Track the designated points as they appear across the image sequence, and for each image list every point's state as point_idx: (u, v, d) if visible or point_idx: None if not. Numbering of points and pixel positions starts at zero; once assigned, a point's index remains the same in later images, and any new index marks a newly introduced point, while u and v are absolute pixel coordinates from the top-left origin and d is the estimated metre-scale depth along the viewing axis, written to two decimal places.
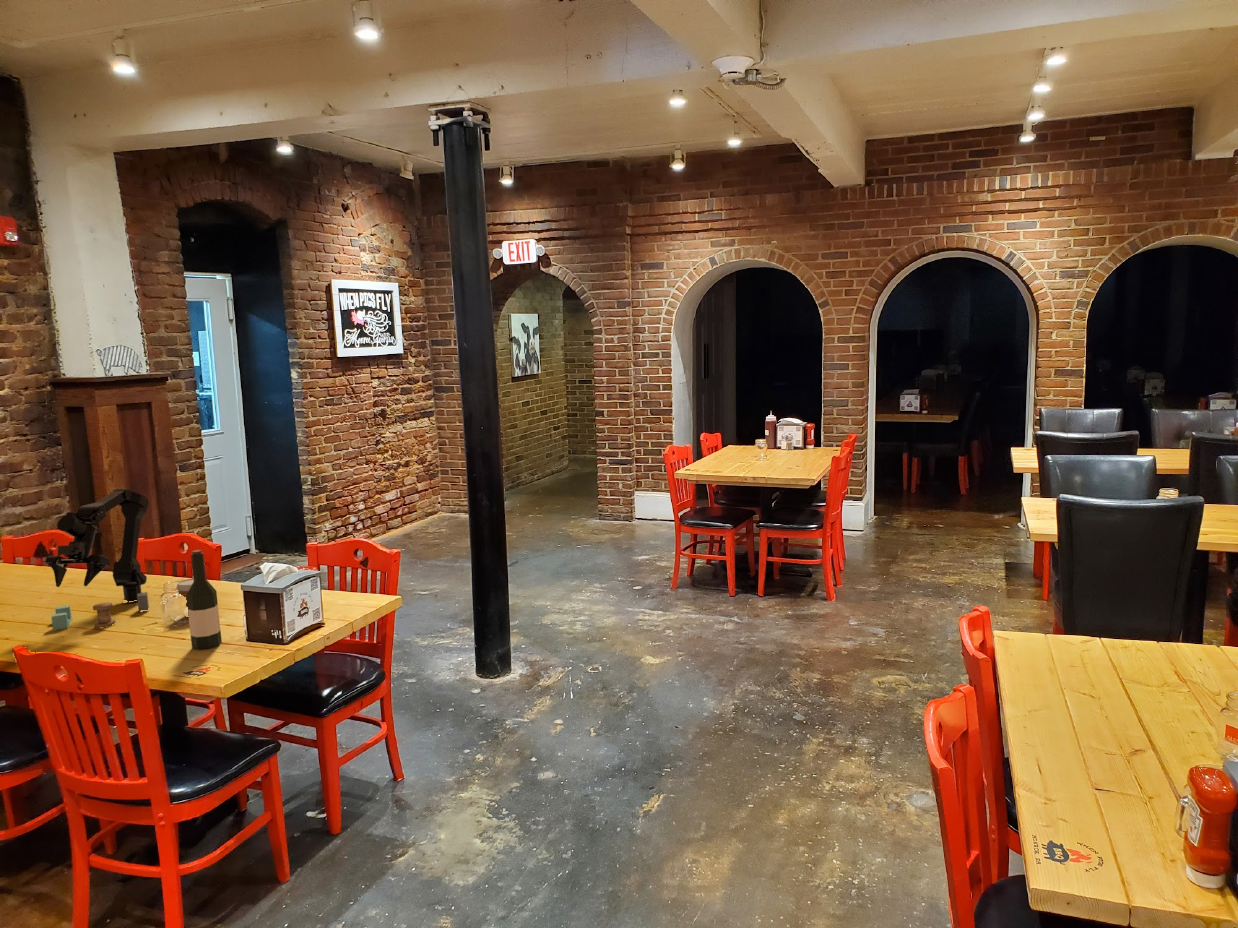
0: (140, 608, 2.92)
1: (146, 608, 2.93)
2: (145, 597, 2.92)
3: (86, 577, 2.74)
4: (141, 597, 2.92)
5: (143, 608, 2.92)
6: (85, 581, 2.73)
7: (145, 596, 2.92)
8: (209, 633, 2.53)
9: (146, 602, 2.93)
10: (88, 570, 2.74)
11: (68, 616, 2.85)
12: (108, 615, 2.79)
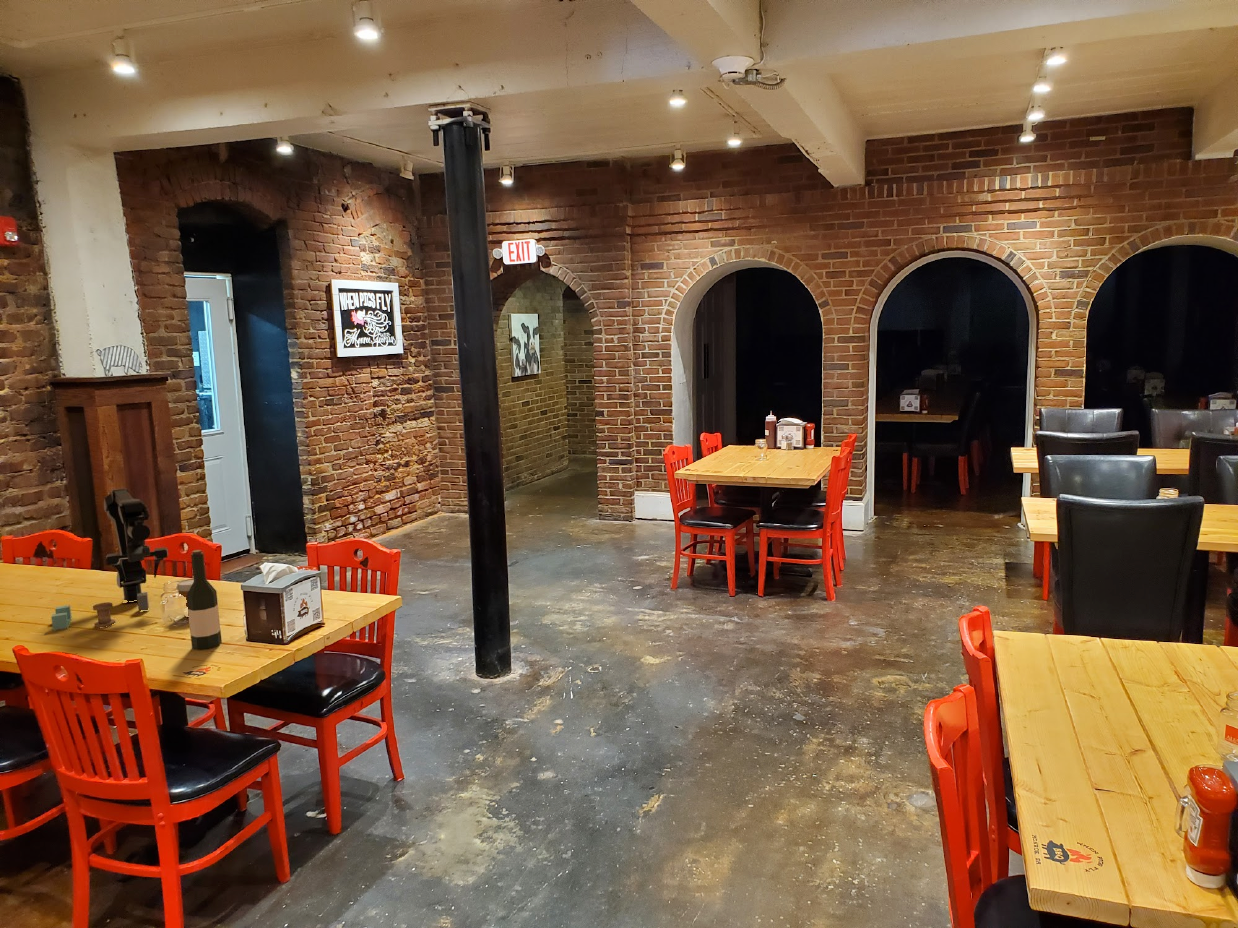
0: (140, 608, 2.92)
1: (146, 608, 2.93)
2: (145, 597, 2.92)
3: (155, 571, 2.94)
4: (141, 597, 2.92)
5: (143, 608, 2.92)
6: (155, 574, 2.94)
7: (145, 596, 2.92)
8: (209, 633, 2.53)
9: (146, 602, 2.93)
10: (156, 564, 2.93)
11: (68, 616, 2.85)
12: (108, 615, 2.79)
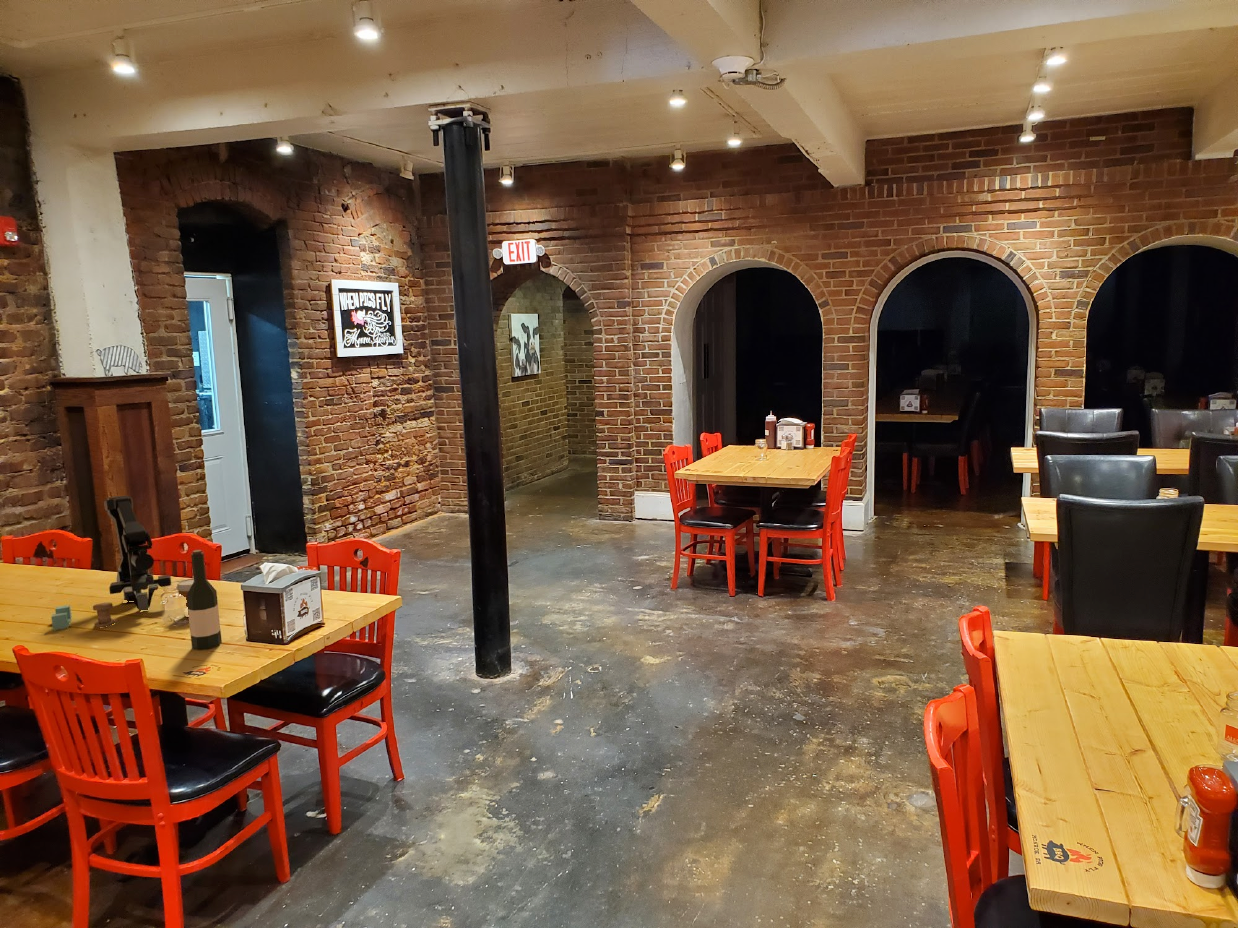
0: (140, 608, 2.92)
1: (146, 608, 2.93)
2: (145, 597, 2.92)
3: (149, 600, 2.94)
4: (141, 597, 2.92)
5: (143, 608, 2.92)
6: (149, 603, 2.94)
7: (145, 596, 2.92)
8: (209, 633, 2.53)
9: (146, 602, 2.93)
10: (150, 594, 2.93)
11: (68, 616, 2.85)
12: (108, 615, 2.79)
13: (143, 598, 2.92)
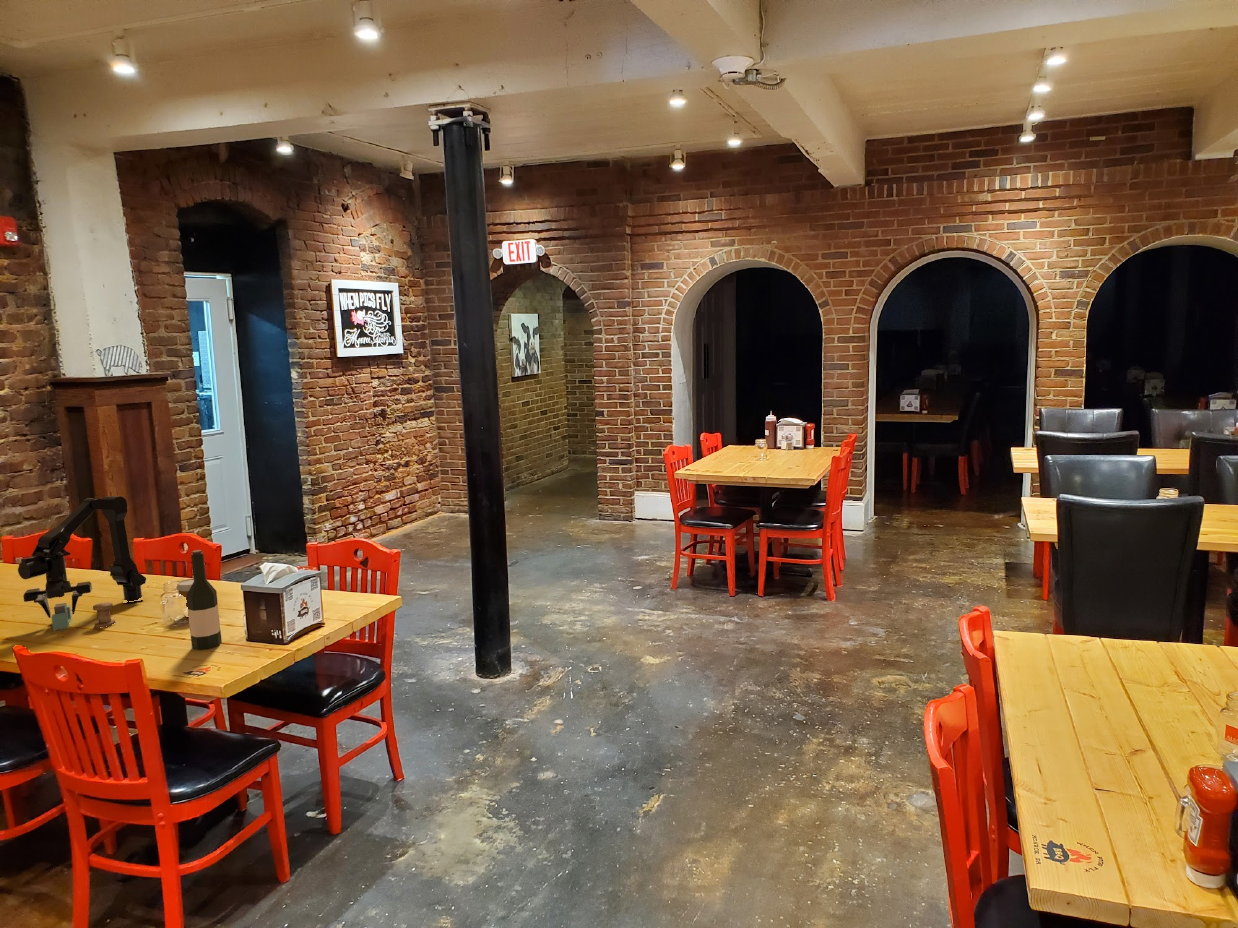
0: None
1: None
2: (63, 608, 2.80)
3: (73, 607, 2.82)
4: (58, 608, 2.79)
5: None
6: (73, 610, 2.82)
7: (63, 607, 2.79)
8: (209, 633, 2.53)
9: None
10: (73, 601, 2.81)
11: (68, 616, 2.85)
12: (108, 615, 2.79)
13: (61, 609, 2.79)
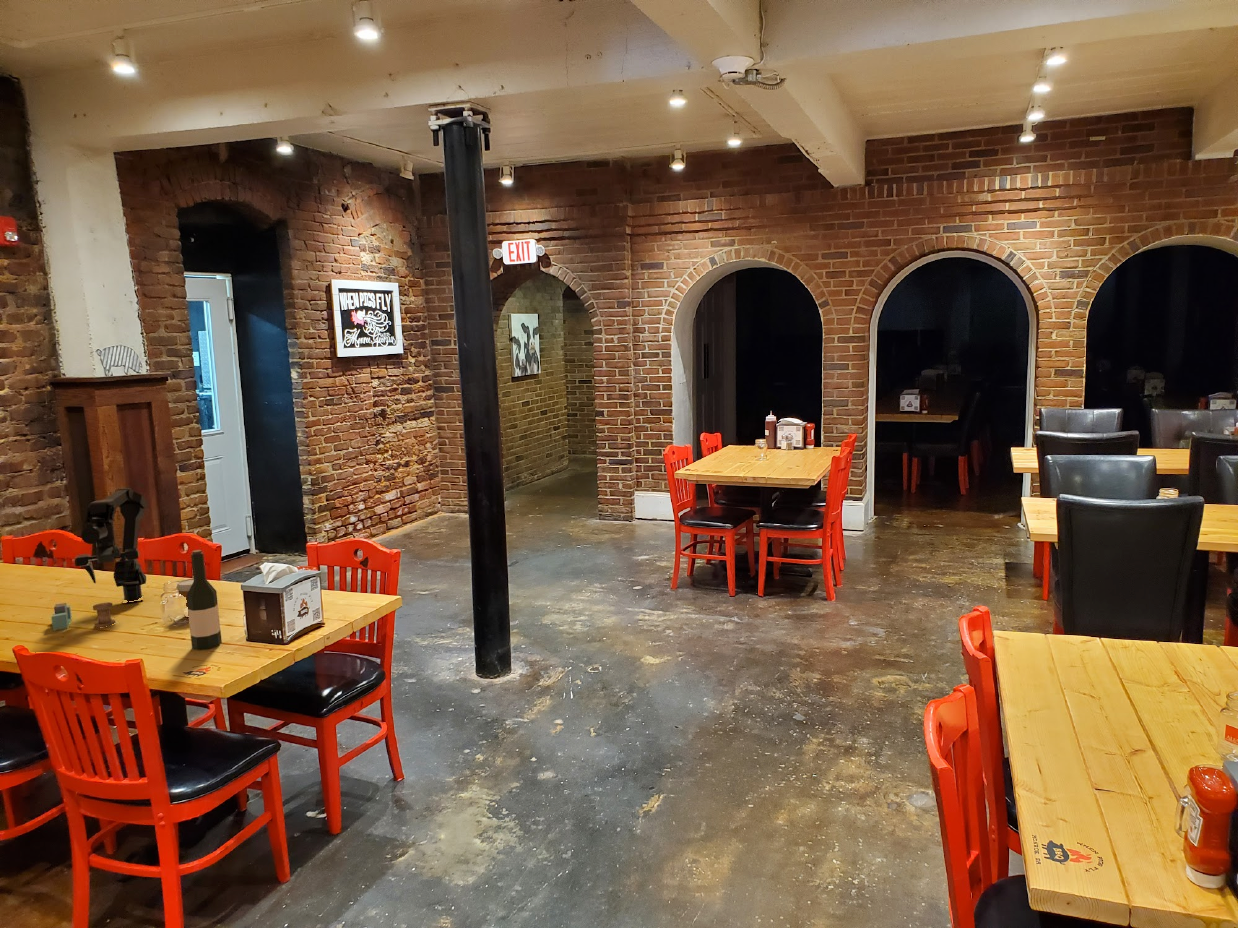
0: None
1: None
2: (63, 608, 2.80)
3: (126, 572, 2.90)
4: (58, 608, 2.79)
5: None
6: (126, 575, 2.91)
7: (63, 607, 2.79)
8: (209, 633, 2.53)
9: None
10: (126, 566, 2.90)
11: (68, 616, 2.85)
12: (108, 615, 2.79)
13: (61, 609, 2.79)
